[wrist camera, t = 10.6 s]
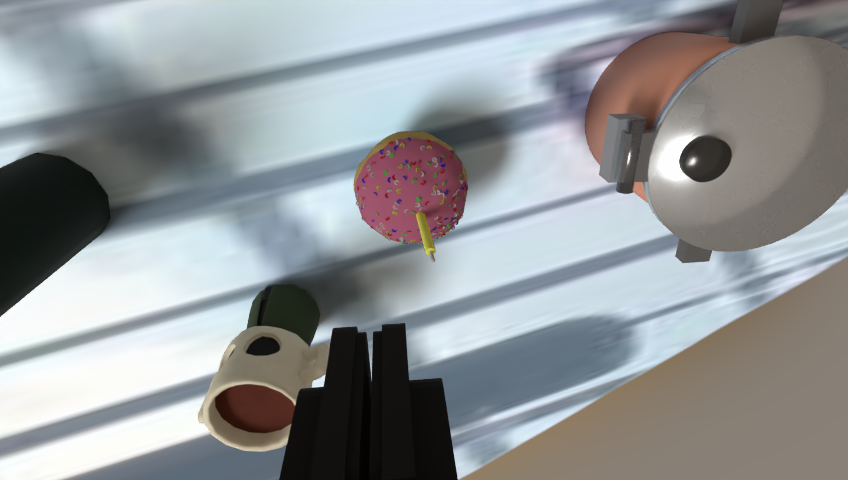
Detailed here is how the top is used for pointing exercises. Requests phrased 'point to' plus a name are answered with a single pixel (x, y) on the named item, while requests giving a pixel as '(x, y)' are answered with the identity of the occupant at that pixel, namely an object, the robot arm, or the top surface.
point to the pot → (662, 86)
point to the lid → (746, 144)
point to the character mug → (265, 372)
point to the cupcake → (411, 188)
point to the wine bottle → (44, 220)
